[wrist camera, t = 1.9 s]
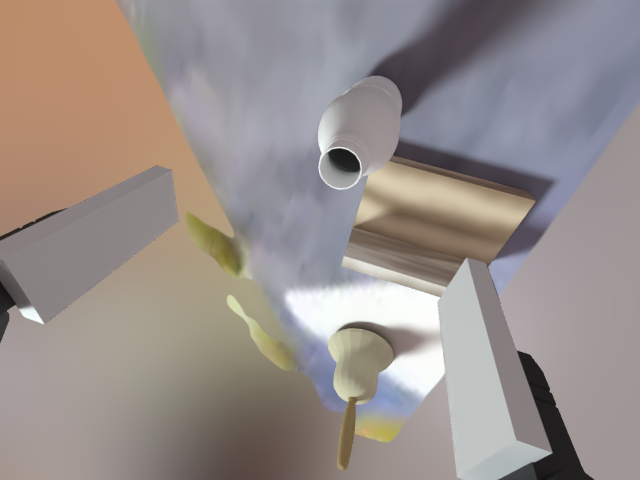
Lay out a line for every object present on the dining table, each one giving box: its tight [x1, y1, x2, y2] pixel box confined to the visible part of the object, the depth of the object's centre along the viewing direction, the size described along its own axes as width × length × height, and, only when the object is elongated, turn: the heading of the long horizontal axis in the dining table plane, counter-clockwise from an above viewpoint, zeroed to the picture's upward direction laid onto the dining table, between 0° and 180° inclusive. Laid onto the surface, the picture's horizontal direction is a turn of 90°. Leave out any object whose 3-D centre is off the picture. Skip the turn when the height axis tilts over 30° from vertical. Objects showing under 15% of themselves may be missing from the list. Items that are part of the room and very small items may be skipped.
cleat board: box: [341, 155, 536, 305], centre depth 41 cm, size 14×22×11 cm, turn 80°
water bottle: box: [318, 76, 402, 189], centre depth 29 cm, size 7×7×25 cm
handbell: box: [328, 328, 394, 470], centre depth 58 cm, size 15×15×25 cm
